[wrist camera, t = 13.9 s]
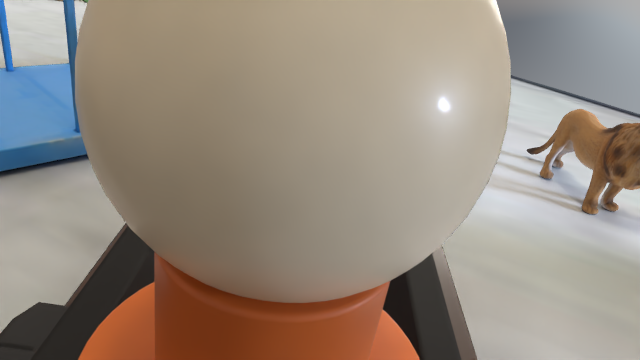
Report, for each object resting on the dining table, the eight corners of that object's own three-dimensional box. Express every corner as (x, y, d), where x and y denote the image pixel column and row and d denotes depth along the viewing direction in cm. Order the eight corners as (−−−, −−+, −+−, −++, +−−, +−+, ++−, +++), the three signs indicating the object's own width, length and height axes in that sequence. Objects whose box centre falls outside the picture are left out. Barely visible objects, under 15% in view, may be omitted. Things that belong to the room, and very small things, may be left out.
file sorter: (135, 75, 55) (132, -79, 48) (227, 132, 45) (240, -52, 38) (-174, 103, 38) (-249, -128, 31) (-137, 204, 28) (-237, -104, 21)
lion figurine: (667, 235, 40) (726, 133, 36) (620, 239, 38) (675, 132, 34) (544, 155, 52) (577, 72, 48) (503, 155, 50) (534, 69, 46)
